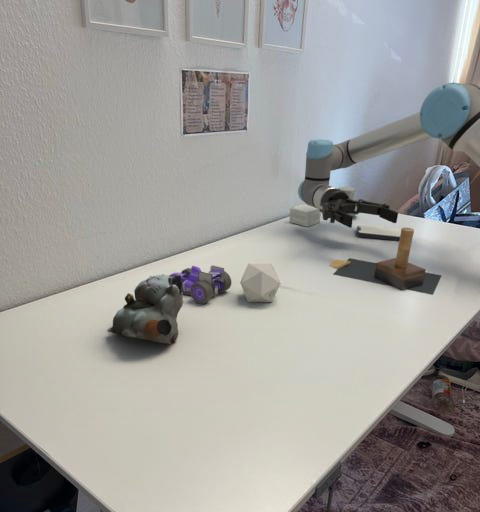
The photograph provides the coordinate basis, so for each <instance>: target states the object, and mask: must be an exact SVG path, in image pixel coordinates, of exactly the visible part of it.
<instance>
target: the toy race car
mask: <svg viewBox="0 0 480 512" xmlns="http://www.w3.org/2000/svg"><path fill="white" fill-rule="evenodd" d="M178 275H181V282H182V290H181V292H182V294H183V295H187V296H190V297H191V298H192V300H193V301H194V302H195V303H197V304H200V305H203V304H205V303H207V302H209V301H210V300H212V299H213V297H216V296H217V295H219V294H223V293H224V292H226V291H228V290H229V289H230V288H231V287H232V278H231V276H230V274H229V273H228V272H227V271H226V270H225V267H220V266H217V265H210V270H209V271H208V272H204V271H202V270H201V268H200V267H198V266H196V265H192V266H191V267H187V268H185V269H182V270H181V272H172V273H171V274H169V275H168V276H169V277H172V278H174V277H175V276H178Z"/></svg>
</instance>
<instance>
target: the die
mask: <svg viewBox="0 0 480 512" xmlns="http://www.w3.org/2000/svg"><path fill="white" fill-rule="evenodd" d="M239 283H240V285H241V288H242V291H243V293H244V296H245V298H246V300H247V303H273V300H274V298H275V297H276V294H277V292H278V289H279V288H280V286H281V283H282V282H281V281H280V279H279V276H278V274H277V272H276V269H275V267H274V265H273V263H247V266H246V268H245V270H244V273H243V275H242V277H241V280H240V281H239Z"/></svg>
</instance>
